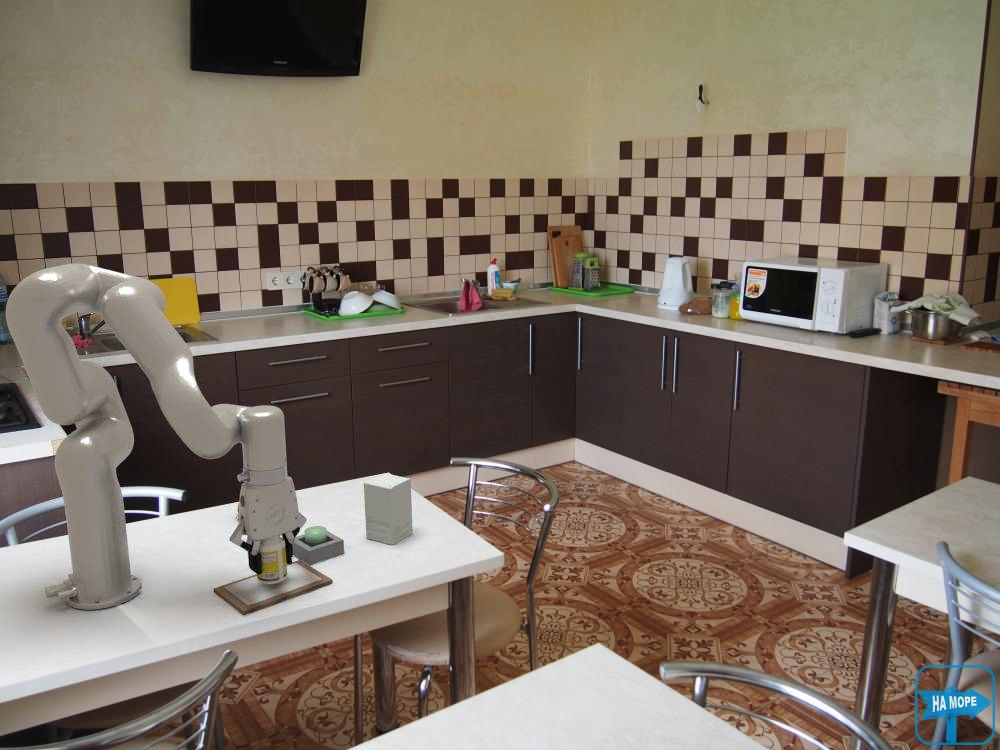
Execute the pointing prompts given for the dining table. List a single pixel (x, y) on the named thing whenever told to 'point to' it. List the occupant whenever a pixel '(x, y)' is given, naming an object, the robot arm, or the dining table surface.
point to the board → (271, 588)
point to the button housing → (318, 549)
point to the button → (315, 534)
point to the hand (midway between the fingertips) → (271, 566)
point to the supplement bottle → (272, 560)
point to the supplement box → (388, 508)
